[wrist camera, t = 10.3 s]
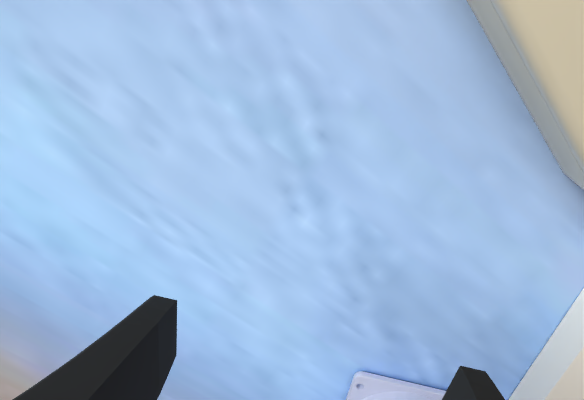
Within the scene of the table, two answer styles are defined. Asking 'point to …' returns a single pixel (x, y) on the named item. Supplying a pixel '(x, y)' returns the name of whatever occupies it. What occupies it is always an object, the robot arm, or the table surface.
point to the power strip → (558, 362)
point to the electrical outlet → (544, 68)
